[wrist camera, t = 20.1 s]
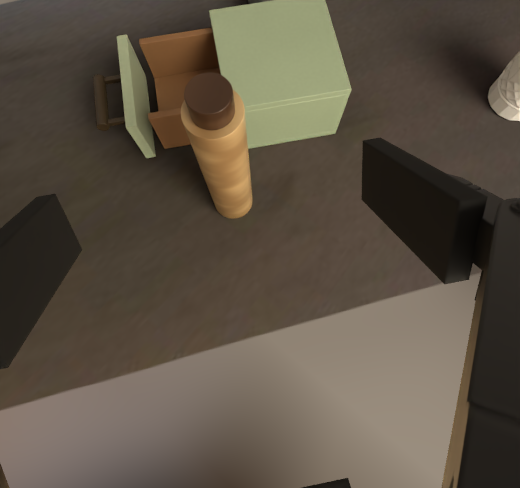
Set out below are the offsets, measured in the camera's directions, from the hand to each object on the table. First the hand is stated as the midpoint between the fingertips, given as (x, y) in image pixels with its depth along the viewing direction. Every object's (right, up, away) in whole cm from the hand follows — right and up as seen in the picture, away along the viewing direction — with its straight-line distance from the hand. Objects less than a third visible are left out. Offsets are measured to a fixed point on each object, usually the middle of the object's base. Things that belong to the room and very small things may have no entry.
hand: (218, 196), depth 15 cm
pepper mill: (-1, +3, +28) cm, 28 cm away
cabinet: (+4, +18, +32) cm, 37 cm away
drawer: (-10, +15, +30) cm, 35 cm away
